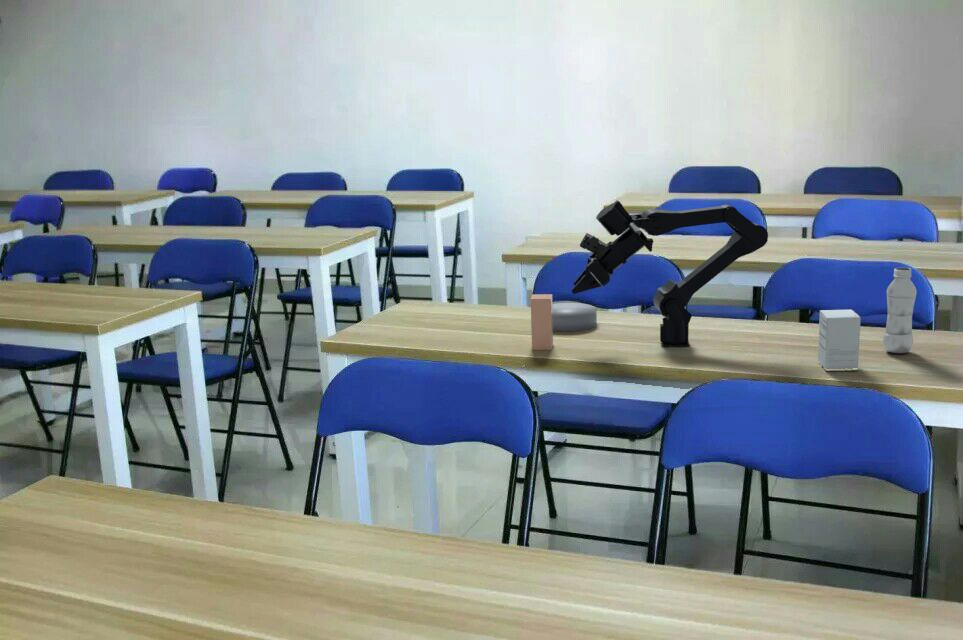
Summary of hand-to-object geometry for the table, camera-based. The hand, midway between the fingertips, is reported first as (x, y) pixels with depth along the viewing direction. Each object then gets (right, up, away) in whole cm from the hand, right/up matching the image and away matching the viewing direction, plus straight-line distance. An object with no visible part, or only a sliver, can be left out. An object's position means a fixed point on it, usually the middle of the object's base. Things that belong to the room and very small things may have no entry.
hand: (573, 288), depth 248 cm
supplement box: (+58, -19, -21) cm, 64 cm away
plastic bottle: (+75, -16, -12) cm, 78 cm away
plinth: (+1, -9, +26) cm, 27 cm away
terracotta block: (-7, -14, +4) cm, 17 cm away
